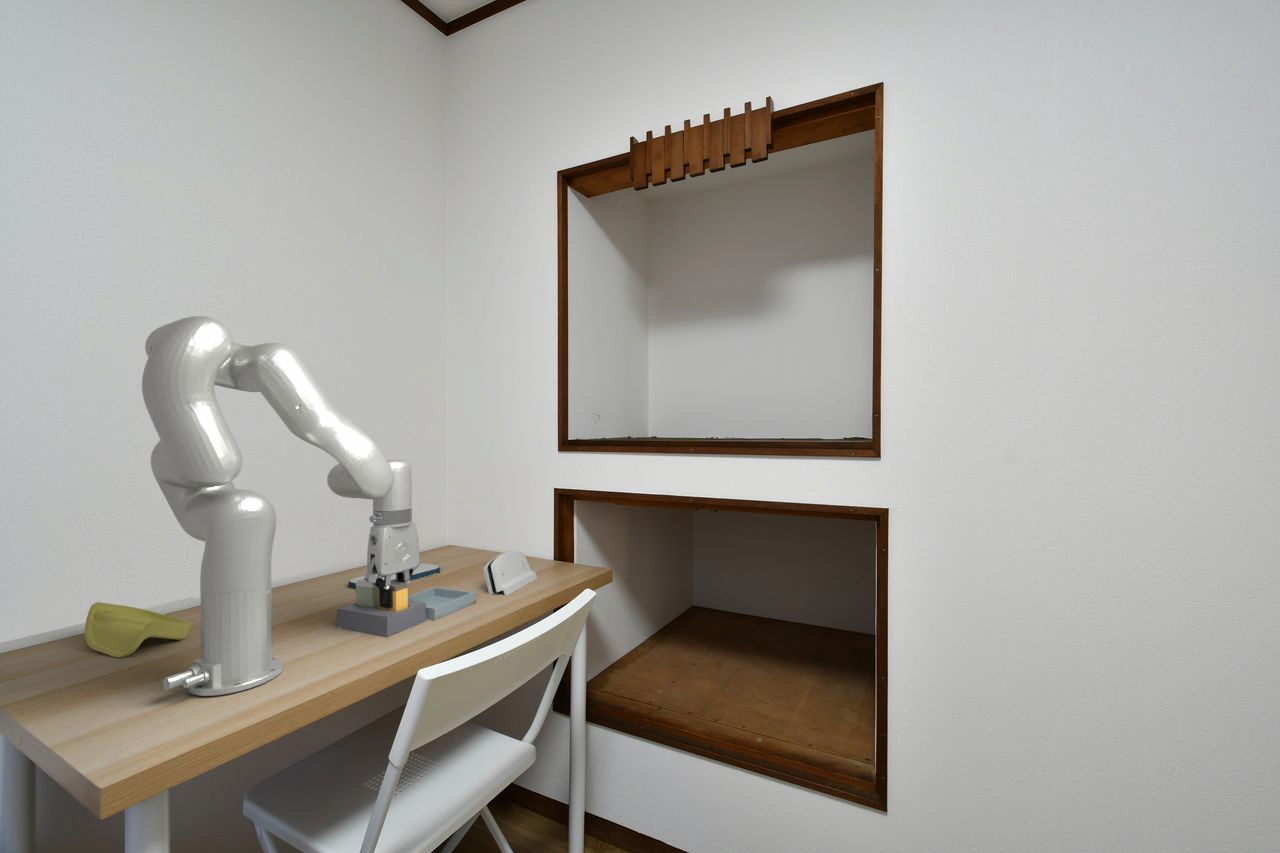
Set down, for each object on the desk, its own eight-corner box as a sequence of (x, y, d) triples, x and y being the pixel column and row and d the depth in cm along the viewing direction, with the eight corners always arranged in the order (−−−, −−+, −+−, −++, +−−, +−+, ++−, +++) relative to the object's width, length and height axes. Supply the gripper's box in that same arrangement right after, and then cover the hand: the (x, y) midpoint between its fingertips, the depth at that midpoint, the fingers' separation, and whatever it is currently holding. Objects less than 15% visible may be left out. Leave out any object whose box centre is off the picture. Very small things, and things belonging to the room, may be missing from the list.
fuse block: (387, 637, 107) (387, 592, 107) (336, 627, 113) (336, 584, 113) (426, 620, 116) (425, 579, 116) (377, 612, 122) (376, 573, 123)
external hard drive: (367, 594, 139) (367, 586, 139) (343, 587, 145) (343, 580, 145) (444, 573, 158) (444, 566, 158) (421, 568, 165) (421, 562, 165)
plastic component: (198, 625, 110) (146, 618, 101) (179, 663, 107) (123, 660, 98) (140, 607, 117) (86, 600, 108) (120, 643, 114) (63, 638, 105)
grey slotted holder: (505, 595, 134) (493, 557, 135) (490, 600, 135) (478, 562, 136) (538, 578, 150) (526, 544, 151) (523, 583, 151) (512, 549, 152)
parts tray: (434, 620, 117) (434, 608, 117) (391, 613, 122) (391, 601, 122) (475, 602, 128) (475, 592, 128) (434, 596, 134) (434, 586, 134)
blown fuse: (396, 630, 111) (395, 586, 111) (379, 627, 113) (378, 584, 113) (408, 625, 114) (407, 582, 114) (391, 622, 116) (390, 580, 116)
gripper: (371, 525, 105) (372, 619, 104) (435, 513, 120) (436, 595, 119) (345, 523, 108) (346, 614, 107) (410, 511, 123) (411, 592, 122)
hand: (393, 603), depth 113 cm, fingers closed on blown fuse, 3 cm apart
